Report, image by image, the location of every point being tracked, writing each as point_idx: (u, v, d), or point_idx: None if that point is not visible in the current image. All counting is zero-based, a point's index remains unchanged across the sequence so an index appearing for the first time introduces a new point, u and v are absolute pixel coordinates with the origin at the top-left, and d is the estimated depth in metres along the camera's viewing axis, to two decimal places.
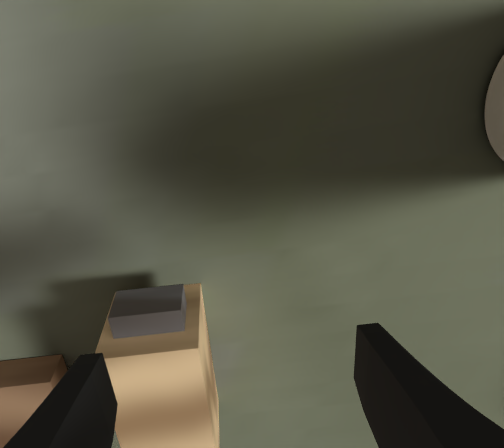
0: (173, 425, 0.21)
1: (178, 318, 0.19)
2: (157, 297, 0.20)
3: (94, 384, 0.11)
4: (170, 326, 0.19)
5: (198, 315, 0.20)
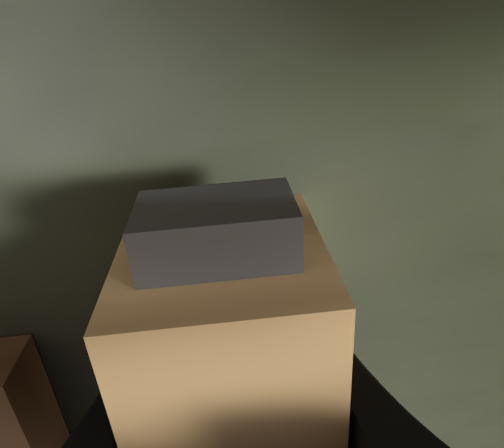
0: None
1: (294, 239, 0.08)
2: (235, 197, 0.09)
3: None
4: (272, 260, 0.08)
5: (322, 244, 0.09)
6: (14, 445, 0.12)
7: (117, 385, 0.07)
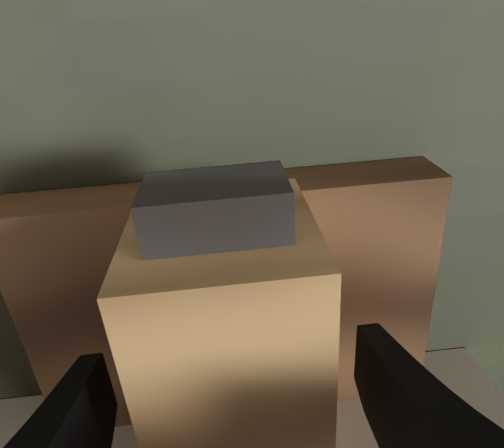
0: (261, 447, 0.10)
1: (286, 213, 0.09)
2: (233, 177, 0.09)
3: (94, 384, 0.11)
4: (267, 233, 0.09)
5: (313, 221, 0.10)
6: (431, 243, 0.14)
7: (126, 344, 0.08)
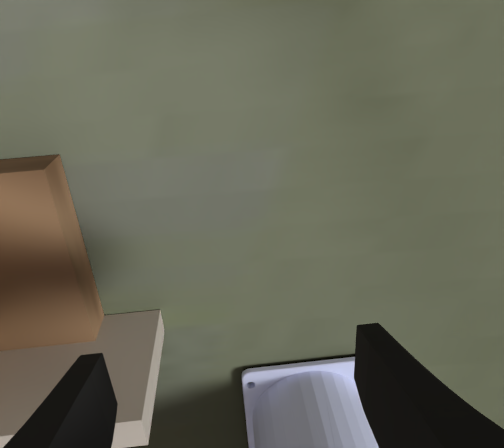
0: None
1: None
2: None
3: (94, 384, 0.11)
4: None
5: None
6: (50, 220, 0.18)
7: None
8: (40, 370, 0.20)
